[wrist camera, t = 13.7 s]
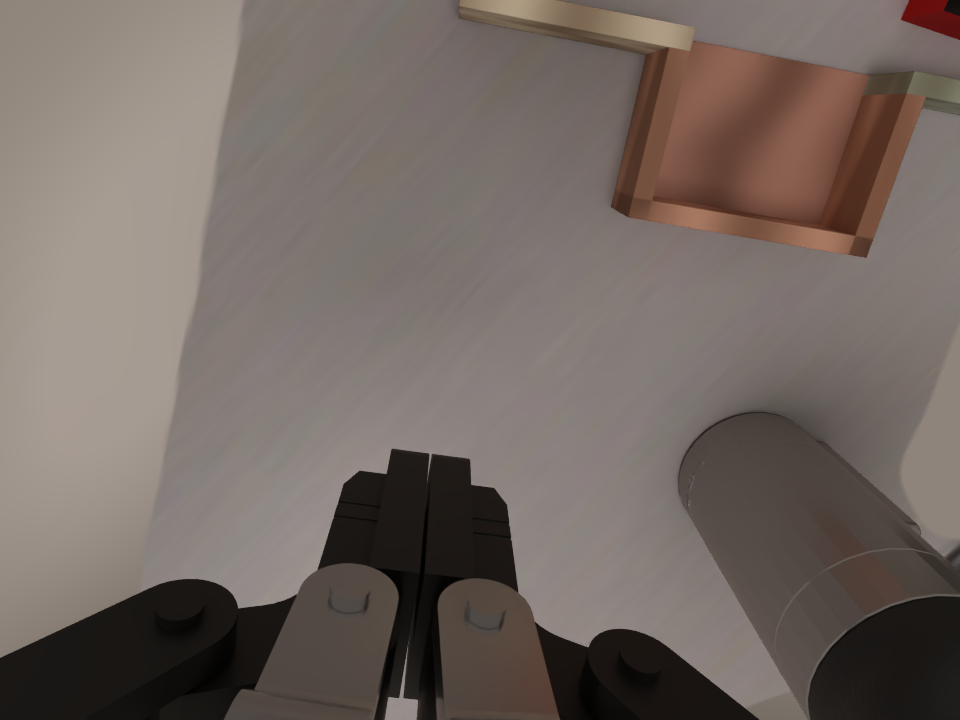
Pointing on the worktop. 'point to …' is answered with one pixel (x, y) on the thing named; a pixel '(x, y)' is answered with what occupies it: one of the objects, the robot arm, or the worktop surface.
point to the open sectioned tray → (746, 130)
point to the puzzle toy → (935, 15)
